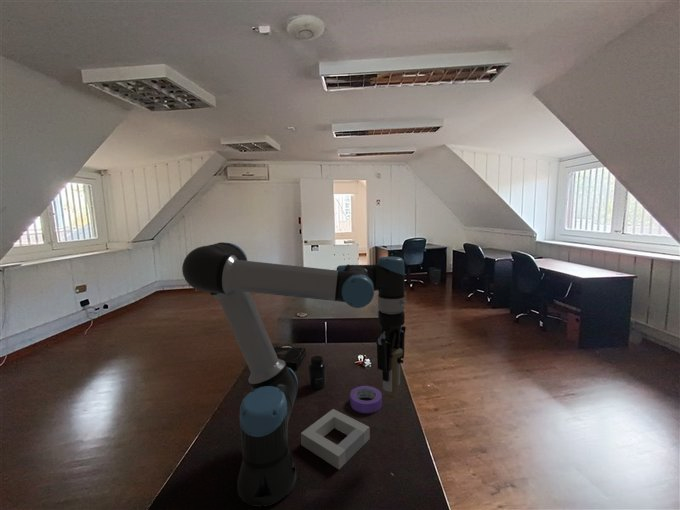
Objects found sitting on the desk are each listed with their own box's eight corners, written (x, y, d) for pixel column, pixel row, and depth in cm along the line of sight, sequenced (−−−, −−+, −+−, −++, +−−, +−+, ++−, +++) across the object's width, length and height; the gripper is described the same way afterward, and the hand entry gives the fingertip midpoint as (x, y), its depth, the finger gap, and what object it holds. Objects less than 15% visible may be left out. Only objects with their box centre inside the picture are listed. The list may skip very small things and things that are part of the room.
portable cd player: (273, 354, 159) (273, 346, 158) (305, 355, 156) (305, 348, 156) (261, 369, 143) (260, 361, 142) (296, 371, 140) (296, 363, 140)
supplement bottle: (319, 391, 122) (318, 363, 121) (305, 387, 126) (304, 359, 125) (328, 383, 128) (328, 356, 127) (315, 379, 132) (314, 352, 130)
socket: (339, 469, 84) (338, 456, 84) (301, 445, 94) (300, 433, 93) (369, 438, 96) (369, 426, 95) (333, 419, 105) (333, 408, 105)
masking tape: (388, 402, 114) (387, 393, 114) (368, 418, 106) (368, 407, 105) (363, 391, 122) (363, 382, 122) (343, 404, 114) (343, 395, 113)
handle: (403, 403, 89) (403, 354, 87) (380, 402, 90) (380, 353, 88) (401, 394, 94) (402, 347, 92) (380, 392, 94) (380, 346, 93)
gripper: (387, 320, 80) (387, 404, 82) (416, 305, 92) (415, 378, 95) (363, 315, 84) (364, 395, 87) (394, 301, 97) (394, 371, 100)
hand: (391, 386), depth 91 cm, fingers closed on handle, 4 cm apart
